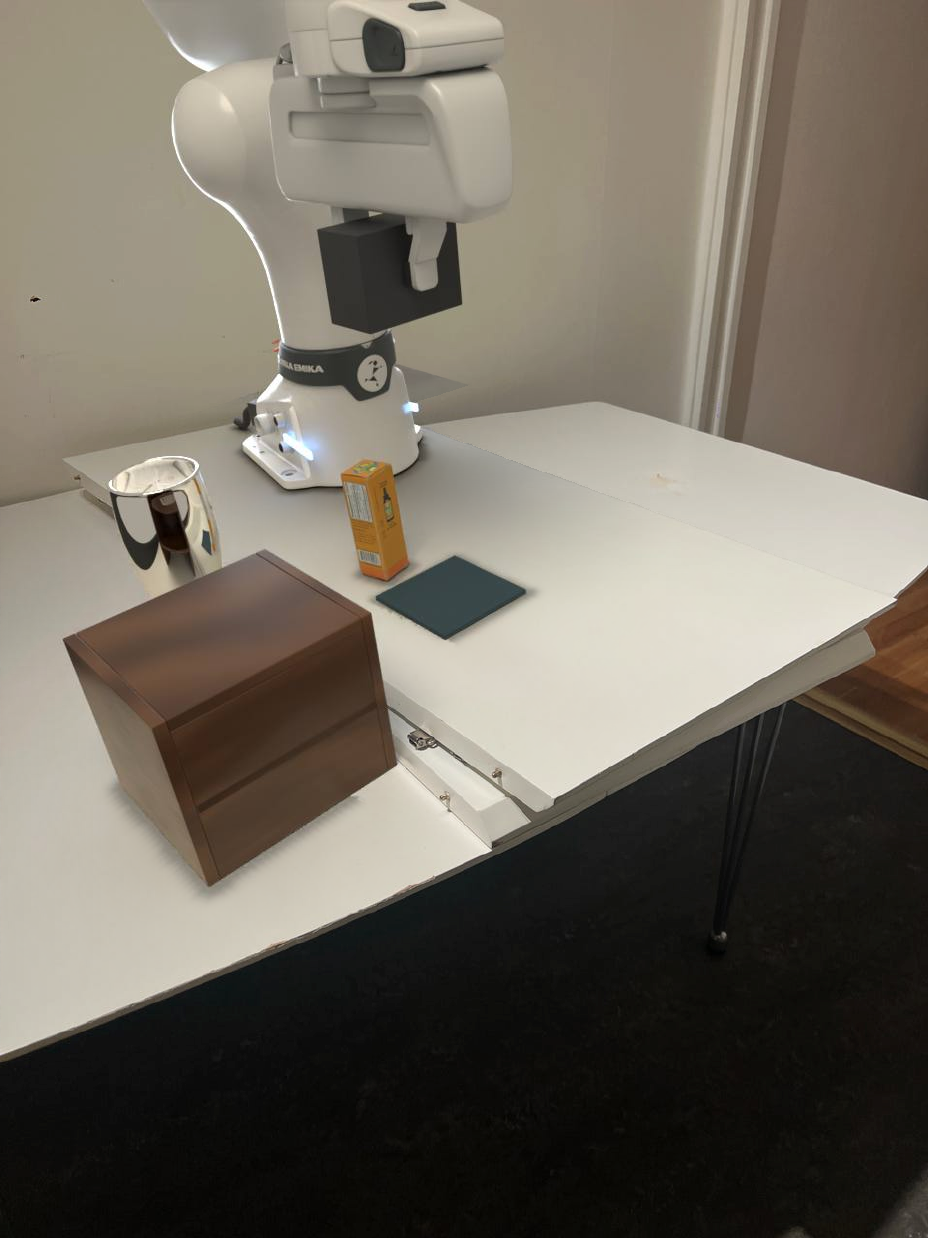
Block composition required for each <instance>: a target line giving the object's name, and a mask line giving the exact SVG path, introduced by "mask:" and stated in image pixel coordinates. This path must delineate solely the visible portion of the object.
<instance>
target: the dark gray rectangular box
mask: <svg viewBox="0 0 928 1238" xmlns="http://www.w3.org/2000/svg"><path fill="white" fill-rule="evenodd" d="M446 227H447V231H446V234H445V237H444V239H443V242H442V245H441V248H440V251H439V254H438V257H437V258H436V262H437V273H438V283H437V285H436V286H435V287H434V288H431V289H428V290H424V291H419V290H414V289H410V288H407V287H406V286H405V285H404V282H403V276H404V275H403V273H402V265H401V261H403V260H407V259H409V254H410V249H411V244H412V239H413V235H409V234H407V231H406V222H405V216H401V215H394V214H386V213H378V214H374V215H369V217H366V218H362V219H358V220H353V221H349V222H345V223H341V224H337V225H333V226H328V227H324V228H320V229H317V234H318V240H319V247H320V253H321V259H322V265H323V271H324V278H325V284H326V290H327V296H328V303H329V309H330V315H331V321H332V324H335V325H338V326H342V327H345V328H349V329H353V330H356V331H360V332H363V333H367V334H374V333H377V332H380V331H383V330H386V329H389V328H391V329H392V328H395V327H398V326H401V325H404V324H409V323H411V322H414V321H417V320H420V319H423V318H426V317H429V316H431V315H435V314H438V313H441V312H445V311H447V310H450V309H453V308H456V307H460V306H462V305H463V295H462V294H463V293H462V292H463V291H462V280H461V269H460V255H459V242H458V231H457V223H453V222H446Z"/></svg>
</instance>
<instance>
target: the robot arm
mask: <svg viewBox="0 0 928 1238" xmlns="http://www.w3.org/2000/svg"><path fill="white" fill-rule="evenodd" d="M141 2H142V3H143V5H144V6H145V8H146V9H147V10H148V12H149V13H150V16H151V17H152V18H153V19H154V21H155V22H156V23H157V25H158V26H159V28H160V29H161V30H162V32H163V33H164V35H165V36H166V38H167V40H168V41H169V43H170V44H171V46H172V47H173V48H174V49H175V50H176V51H177V52H178V53H179V54H180V55H181V57H183V58H184V59H185V60H186V61H188V62H190V63H191V64H192V65H194V66H196V67H197V68H200V69H201V70H203V71H205V73H203V74H200V75H198V76H196V77H194V78H192V79H190V80H188V81H186V82H185V83H184V84H183V85H182V87H181V88H180V89H179V91H178V93H177V95H176V98H175V99H174V101H175V102H174V104H173V107H172V108H173V109H172V115H171V134H172V140H173V145H174V149H175V153H176V155H177V159H178V160H179V163H180V165H181V167H182V168H183V171H184V172H185V174H186V175H187V176H188V177H189V179H190V180H191V181H192V183H193V184H194V185H195V186H196V187H197V189H199V190H200V191H201V192H202V193H203V194H204V195H205V196H207V197H208V198H210V199H211V200H213V201H215V202H217V203H218V204H220V205H221V206H223V208H225V209H226V210H227V211H229V212H230V214H231V215H233V217H234V218H235V219H236V220H237V221H238V222H239V223H240V224H241V226H242V227H243V229H244V230H245V232H246V233H247V235H248V236H249V238H250V239H251V241H252V243H253V245H254V246H255V248H256V250H257V252H258V254H259V257H260V259H261V262H262V264H263V267H264V269H265V272H266V276H267V280H268V283H269V287H270V292H271V295H272V299H273V305H274V309H275V313H276V318H277V322H278V327H279V331H280V336H281V338H280V339H276V340H273V341H272V342H271V344H272V345H275V344H278V346H277V347H276V348H274V349H273V352H274V353H277V352H278V354H277V372H278V374H277V375H276V377H275V378H274V380H272V381H271V383H270V384H269V385H268V387H267V388H266V389H265V390H264V391H263V392H262V393H261V395H260V396H259V397H257V398H255V399H252V400H250V401H248V402H247V403H246V404H247V405H246V406H245V407H244V409H243V410H242V418H240V417H235V418H234V419H233V424H234V425H235V426H237V427H238V428H241V429H248V428H249V427H250V425H251V426H253V427H255V429H256V431H257V432H254V433H253V434H251V435H250V436H249V437H247V438H246V439H245V440H244V441H243V442H242V451H243V453H245V454H246V455H247V456H248V457H249V458H250V459H251V460H253V461H254V462H255V463H256V464H257V465H258V466H259V467H260V468H261V469H262V470H264V471H265V472H266V473H267V474H268V475H269V476H270V477H271V478H272V479H273V480H275V482H276V483H278V484H279V485H280V486H281V487H282V488H284V489H285V490H299V489H307V488H313V487H343V485H342V480H341V475H340V474H341V473H342V472H344V471H346V470H347V469H349V468H350V467H352V466H354V465H355V464H357V463H358V462H360V461H361V460H363V459H365V460H373V461H379V462H384V463H390V464H391V465H392V470H393V476H394V475H397V474H399V473H401V472H404V471H405V470H406V469H408V468H410V467H411V465H413V464H414V463H415V461H416V460H417V459H418V457H419V455H420V449H419V446H418V444H419V442H420V441H421V439H422V438H423V431H422V427H421V426H420V425H418V424H415V421H414V417H413V413H412V412H414V413H415V412H416V413H417V412H419V404H418V403H417V402H416V403H415V402H411V401H410V398H409V394H408V389H407V385H406V381H405V376H404V373H403V372H402V370H401V369H400V368H398V367H396V366H395V364H396V363H397V353H396V340H395V338H394V334H393V330H392V328H389V329H386V330H383V331H380V332H377V333H374V334H367V333H363V332H360V331H356V330H353V329H349V328H345V327H342V326H338V325H335V324H332V321H331V315H330V309H329V303H328V296H327V290H326V284H325V278H324V271H323V265H322V259H321V253H320V247H319V240H318V234H317V229H320V228H324V227H328V226H333V225H337V224H341V223H345V222H349V221H353V220H358V219H362V218H366V217H370V213H369V212H372V213H378V214H382V213H386V214H394V215H401V216H405V222H406V231H407V234H409V235H413V239H412V244H411V249H410V254H409V259H407V260H403V261H401V265H402V273H403V275H404V276H403V282H404V285H405V286H406V287H407V288H410V289H414V290H419V291H424V290H428V289H431V288H434V287H435V286H436V285H437V283H438V273H437V262H436V258H437V257H438V254H439V251H440V248H441V245H442V242H443V239H444V237H445V234H446V231H447V227H446V222H453V223H456V224H460V225H462V224H463V225H464V224H465V225H466V224H471V223H475V222H476V223H477V222H480V221H485V220H489V219H491V218H494V217H498V216H501V215H502V214H503V213H504V211H505V210H506V209H507V206H508V204H509V202H510V200H511V197H512V195H513V189H514V188H513V187H514V163H513V162H514V161H513V160H514V159H513V142H512V128H511V127H512V126H511V118H510V117H511V116H510V108H509V106H510V105H509V101H508V95H507V92H506V88H505V86H504V83H503V80H502V79H501V78H500V76H499V74H498V73H497V72H496V71H495V70H494V69H492V68H490V67H489V66H493V65H498V64H499V63H501V62H502V60H503V59H504V55H505V32H504V27H503V24H502V22H501V21H500V20H499V19H498V18H497V17H495V16H494V15H491V14H489V13H487V12H485V11H482V10H480V9H478V8H475V7H473V6H471V5H469V4H467V3H465V2H463V1H461V0H141Z"/></svg>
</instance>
